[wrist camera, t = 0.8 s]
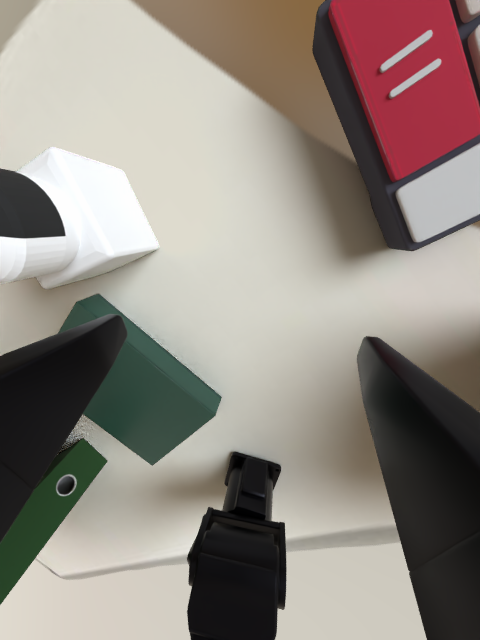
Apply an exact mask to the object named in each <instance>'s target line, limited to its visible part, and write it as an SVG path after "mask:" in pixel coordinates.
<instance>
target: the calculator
mask: <svg viewBox="0 0 480 640" xmlns="http://www.w3.org/2000/svg"><path fill="white" fill-rule="evenodd" d="M313 55H314V57H315V60H316V62H317V65H318V67H319V70H320V72H321V75H322V77H323V80H324V82H325V85H326V87H327V90H328V92H329V95H330V97H331V100H332V102H333V105H334V107H335V110H336V112H337V115H338V117H339V119H340V122H341V124H342V127H343V129H344V132H345V134H346V137H347V139H348V142H349V144H350V147H351V149H352V152H353V154H354V157H355V159H356V162H357V164H358V167H359V169H360V172H361V174H362V177H363V179H364V181H365V184H366V186H367V189H368V191H369V194H370V198H371V203H372V208H373V211H374V213H375V216H376V218H377V221H378V223H379V226H380V228H381V231H382V233H383V236H384V238H385V240H386V243H387V245H388V247H389V248H392V249H398V250H406V251H415V250H417V249H419V248H422V247H424V246H426V245H428V244H430V243H432V242H434V241H437V240H439V239H441V238H443V237H445V236H447V235H449V234H451V233H454V232H456V231H458V230H460V229H462V228H464V227H466V226H469V225H471V224H473V223H475V222H477V221H479V220H480V0H325V1H324V2H323V3H322V4H321V5H320V7H319V8H318V11H317V15H316V23H315V31H314V40H313Z"/></svg>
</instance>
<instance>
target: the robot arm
mask: <svg viewBox="0 0 480 640" xmlns="http://www.w3.org/2000/svg"><path fill="white" fill-rule="evenodd" d="M127 334H128V333H127V329H126V326H125V323H124V320H123V318H122V316H121V315H118V314H108V315H106V316H103V317H100V318H98V319H95V320H93V321H90V322H87V323H85V324H82V325H79V326H77V327H74V328H72V329H69V330H66V331H64V332H61V333H59V334H56V335H53V336H51V337H48V338H45V339H43V340H40V341H38V342H35V343H32V344H30V345H27V346H25V347H22V348H19V349H17V350H14V351H11V352H9V353H6V354H4V355H2V356H0V543H1V542H2V540H3V539H4V537H5V536H6V534H7V532H8V531H9V529H10V528H11V526H12V524H13V523H14V521H15V520H16V518H17V517H18V515H19V513H20V512H21V510H22V509H23V507H24V506H25V504H26V502H27V501H28V499H29V498H30V496H31V495H32V493H33V491H34V489H35V488H36V486H37V485H38V483H39V482H40V480H41V478H42V477H43V475H44V474H45V472H46V471H47V469H48V467H49V466H50V464H51V463H52V461H53V460H54V458H55V456H56V455H57V453H58V452H59V450H60V449H61V447H62V445H63V444H64V442H65V441H66V439H67V438H68V436H69V434H70V433H71V431H72V430H73V428H74V427H75V425H76V423H77V422H78V420H79V419H80V417H81V416H82V414H83V412H84V411H85V409H86V408H87V406H88V405H89V403H90V401H91V400H92V398H93V397H94V395H95V394H96V392H97V390H98V389H99V387H100V386H101V384H102V383H103V381H104V379H105V378H106V376H107V375H108V373H109V371H110V370H111V368H112V366H113V364H114V362H115V360H116V358H117V356H118V354H119V352H120V350H121V348H122V346H123V344H124V342H125V340H126V338H127ZM357 364H358V371H359V378H360V385H361V392H362V399H363V403H364V408H365V411H366V415H367V419H368V422H369V426H370V430H371V433H372V437H373V441H374V445H375V448H376V452H377V456H378V459H379V463H380V467H381V470H382V474H383V478H384V482H385V485H386V489H387V493H388V496H389V500H390V504H391V507H392V511H393V515H394V519H395V522H396V526H397V530H398V533H399V537H400V541H401V544H402V548H403V552H404V555H405V559H406V563H407V567H408V570H409V571H410V573H409V575H410V578H411V582H412V585H413V590H414V593H415V597H416V601H417V604H418V608H419V612H420V615H421V619H422V623H423V626H424V630H425V634H426V638H427V640H480V412H478V411H477V410H476V409H474V408H473V407H472V406H470V405H469V404H467V403H466V402H465V401H463V400H462V399H461V398H459V397H458V396H457V395H455V394H454V393H453V392H451V391H450V390H449V389H447V388H446V387H445V386H443V385H442V384H441V383H439V382H438V381H436V380H435V379H434V378H432V377H431V376H430V375H428V374H427V373H426V372H424V371H423V370H422V369H420V368H419V367H418V366H416V365H415V364H414V363H412V362H411V361H410V360H408V359H407V358H405V357H404V356H403V355H401V354H400V353H399V352H397V351H396V350H395V349H393V348H392V347H391V346H389V345H388V344H387V343H385V342H384V341H383V340H381V339H380V338H378V337H369V336H366V337H364V339H363V341H362V343H361V346H360V349H359V352H358V355H357ZM280 472H281V466H280V465H278V464H274V463H271V462H268V461H264V460H261V459H257V458H254V457H251V456H247V455H244V454H241V453H237V452H233V453H232V456H231V460H230V464H229V468H228V472H227V476H226V479H225V485H226V486H228V487H227V491H226V496H225V500H224V505H223V510H222V511H220V510H216V509H213V508H211V507H208V510H207V513H206V514H205V515H204V516H203V519H202V522H201V526H200V529H199V532H198V535H197V537H196V539H195V541H194V543H193V545H192V547H191V549H190V551H189V554H188V557H187V561H188V564H189V566H190V567H189V585H190V586H192V590H191V594H190V599H189V604H188V610H187V614H188V625H189V632H190V636H191V640H275V637H276V632H277V608H279V609H282V610H284V607H285V597H286V543H285V523H283V522H280V523H278V522H273V521H271V519H272V496H273V490H274V487H275V485H276V482H277V480H278V477H279V475H280Z"/></svg>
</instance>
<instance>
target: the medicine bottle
mask: <svg viewBox="0 0 480 640" xmlns="http://www.w3.org/2000/svg"><path fill="white" fill-rule="evenodd" d="M158 248H159V243H158V241H157V239H156V237H155V235H154V233H153V231H152V229H151V227H150V225H149V223H148V221H147V219H146V216H145V214H144V212H143V210H142V208H141V206H140V204H139V202H138V200H137V198H136V196H135V194H134V192H133V190H132V187H131V185H130V183H129V181H128V179H127V177H126V175H125V173H124V171H123V170H122V169H119V168H116V167H113V166H110V165H107V164H104V163H101V162H98V161H95V160H92V159H89V158H86V157H83V156H80V155H77V154H74V153H71V152H68V151H65V150H62V149H59V148H56V147H49V148H48V149H46V150H45V151H43V152H42V153H41V154H39V155H38V156H37V157H35V158H34V159H32V160H31V161H30V162H28V163H27V164H26V165H24V166H23V167H21V168H20V169H19V170H17V171H16V172H15V171H10V170H5V169H0V284H5V283H10V282H14V281H19V280H24V279H28V278H33V277H36V279H37V280H38V282H39V283H40V285H41V286H42V287H43V288H44V289H51V288H55V287H59V286H62V285H66V284H69V283H73V282H76V281H80V280H83V279H87V278H91V277H94V276H98V275H101V274H105V273H107V272H110V271H112V270H114V269H116V268H118V267H121V266H123V265H125V264H127V263H129V262H131V261H134V260H136V259H138V258H140V257H142V256H144V255H147V254H149V253H151V252H153V251H155V250H157V249H158Z"/></svg>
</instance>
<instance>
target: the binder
mask: <svg viewBox="0 0 480 640" xmlns="http://www.w3.org/2000/svg"><path fill="white" fill-rule="evenodd" d="M106 462H107V460H106V459H105V458H104V457H103V456H102V455H100V454H99V453H98V452H97V451H96V450H95V449H94V448H93V447H92V446H91V445H90V444H89V443H88V442H86V441H85V440H84V439H81V440H80V441H78V442H77V443H75V444H74V445H72V446H71V447H69V448H68V449H66V450H65V451H63V452H61V453H60V454H58V455H57V456H55V458H54V460H53V461H52V463H51V464H50V466H49V467H48V469H47V471H46V472H45V474H44V475H43V477H42V478H41V480H40V482H39V483H38V485H37V486H36V488H35V489H34V491H33V493H32V495H31V496H30V498H29V499H28V501H27V502H26V504H25V506H24V507H23V509H22V510H21V512H20V513H19V515H18V517H17V518H16V520H15V521H14V523H13V524H12V526H11V528H10V529H9V531H8V532H7V534H6V536H5V537H4V539H3V540H2V542H1V543H0V604H1V603H2V602H3V600H4V599H5V598H6V596H7V595H8V594H9V592H10V591H11V590H12V588H13V587H14V586H15V584H16V583H17V582H18V580H19V579H20V578H21V576H22V575H23V574H24V572H25V571H26V570H27V568H28V567H29V566H30V564H31V563H32V562H33V560H34V559H35V558H36V556H37V555H38V554H39V552H40V551H41V550H42V548H43V547H44V546H45V544H46V543H47V541H48V540H49V539H50V537H51V536H52V535H53V533H54V532H55V531H56V529H57V528H58V527H59V525H60V524H61V523H62V521H63V520H64V519H65V517H66V516H67V515H68V513H69V512H70V511H71V509H72V508H73V507H74V505H75V504H76V503H77V501H78V500H79V499H80V497H81V496H82V495H83V493H84V492H85V491H86V489H87V488H88V486H89V485H90V484H91V482H92V481H93V480H94V478H95V477H96V476H97V474H98V473H99V472H100V470H101V469H102V468H103V466H104V465H105V464H106Z"/></svg>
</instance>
